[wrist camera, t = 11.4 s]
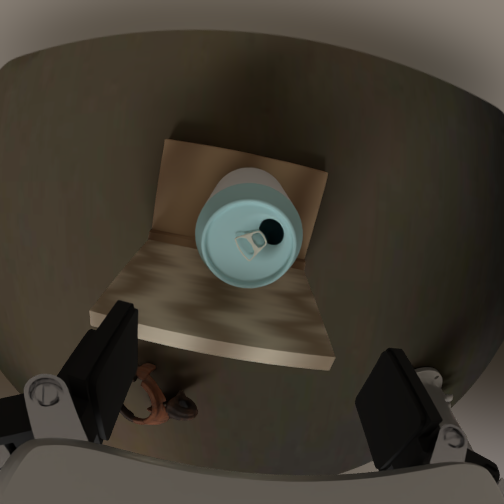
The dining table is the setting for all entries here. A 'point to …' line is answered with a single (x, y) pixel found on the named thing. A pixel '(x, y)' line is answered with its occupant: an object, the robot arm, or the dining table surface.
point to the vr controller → (160, 401)
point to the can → (248, 229)
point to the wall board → (209, 285)
